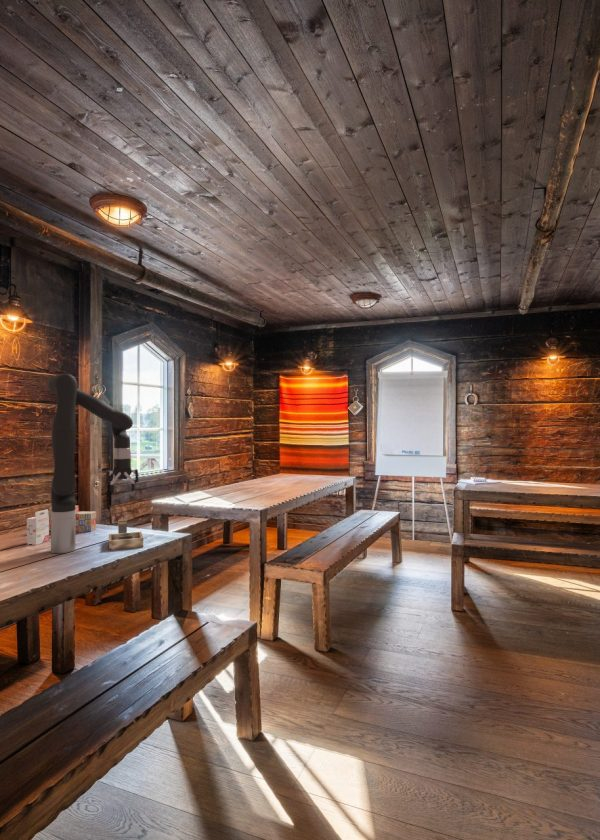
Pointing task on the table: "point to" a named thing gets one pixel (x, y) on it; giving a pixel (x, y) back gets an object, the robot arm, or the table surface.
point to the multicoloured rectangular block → (80, 520)
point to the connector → (122, 526)
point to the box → (125, 541)
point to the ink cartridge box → (38, 528)
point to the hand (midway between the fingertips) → (122, 492)
